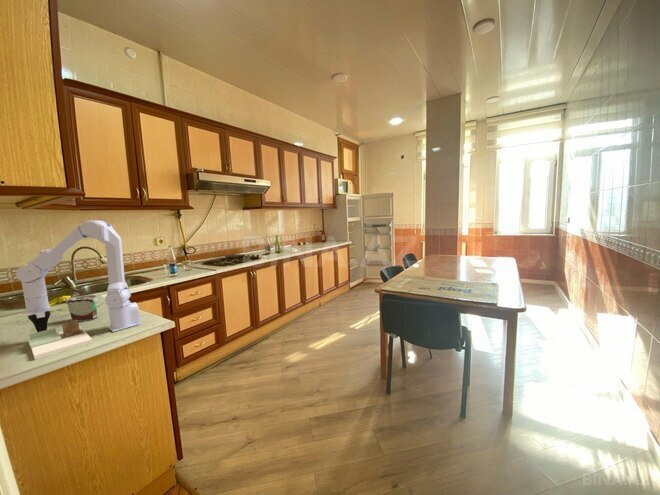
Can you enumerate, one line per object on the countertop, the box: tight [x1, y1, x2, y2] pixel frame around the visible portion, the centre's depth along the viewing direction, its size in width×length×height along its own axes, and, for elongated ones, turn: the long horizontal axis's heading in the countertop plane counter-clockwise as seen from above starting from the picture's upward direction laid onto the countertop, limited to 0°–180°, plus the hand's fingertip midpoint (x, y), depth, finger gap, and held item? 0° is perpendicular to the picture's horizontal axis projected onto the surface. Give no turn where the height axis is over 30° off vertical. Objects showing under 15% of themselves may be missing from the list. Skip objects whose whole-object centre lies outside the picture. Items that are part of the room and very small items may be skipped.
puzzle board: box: [30, 326, 93, 361], centre depth 97 cm, size 14×20×1 cm
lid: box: [28, 327, 61, 349], centre depth 95 cm, size 8×8×3 cm
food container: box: [65, 294, 99, 322], centre depth 122 cm, size 12×6×10 cm, turn 92°
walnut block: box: [61, 319, 81, 339], centre depth 101 cm, size 4×4×6 cm
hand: (42, 332), depth 100 cm, fingers closed
